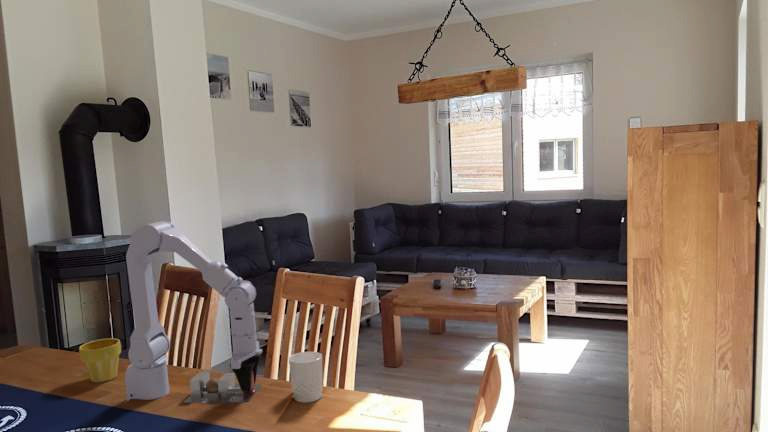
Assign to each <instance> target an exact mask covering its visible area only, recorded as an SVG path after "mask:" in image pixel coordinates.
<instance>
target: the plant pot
mask: <svg viewBox="0 0 768 432" xmlns="http://www.w3.org/2000/svg"><path fill="white" fill-rule="evenodd" d="M78 350H79V351H78V352H79V358H80V361H81V362H83V364H84V366H85V369H86V371H87V374H88V377H89V381H91V382H92V383H103V382H104V383H105V382H108V381H112V380H113V379H115V378H116V377H117V376H118V371H119V370H118V369H119V358H120V354H121V353H122V344H121V341H120V339H118V338H113V337H111V338H110V337H109V338H101V339H96V340H92V341H91V340H90V341H89V342H85V343H83V344H82V345H80V346H79V348H78Z"/></svg>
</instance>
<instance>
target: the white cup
mask: <svg viewBox="0 0 768 432" xmlns="http://www.w3.org/2000/svg"><path fill="white" fill-rule="evenodd" d="M288 363H289V372H290V380H291V387H292V390H293V391H292V393H293V398H294V401H296V402H299V403H304V404H305V403H313V402H316V401H318V400H320V399H321V398H322V397H323V355H322V353H321V352H317V351H302V352H297V353H294V354H292V355H290V356H289V357H288Z"/></svg>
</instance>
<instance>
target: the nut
mask: <svg viewBox="0 0 768 432" xmlns="http://www.w3.org/2000/svg"><path fill="white" fill-rule="evenodd" d="M218 380H219V378H215V377H213V378H210V380H209V381H208V382H207V383H206V390H207V391H208V392H209V393H215V392H218V391H219V390H218Z"/></svg>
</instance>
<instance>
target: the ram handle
mask: <svg viewBox="0 0 768 432" xmlns="http://www.w3.org/2000/svg"><path fill="white" fill-rule="evenodd" d="M235 384H236V375H235V373H234V372H229V373H228V372H225V373H224V374H223V375H221V377H220V378H218V390H219V393H227V392H229V391H230V390H231V392H243V393H244V394H250V393H253V392H254V391H255V387H254V375H253V371H252V378H251V389H250V390H249V391H242V390H241V388H240V387H234V386H235Z"/></svg>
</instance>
